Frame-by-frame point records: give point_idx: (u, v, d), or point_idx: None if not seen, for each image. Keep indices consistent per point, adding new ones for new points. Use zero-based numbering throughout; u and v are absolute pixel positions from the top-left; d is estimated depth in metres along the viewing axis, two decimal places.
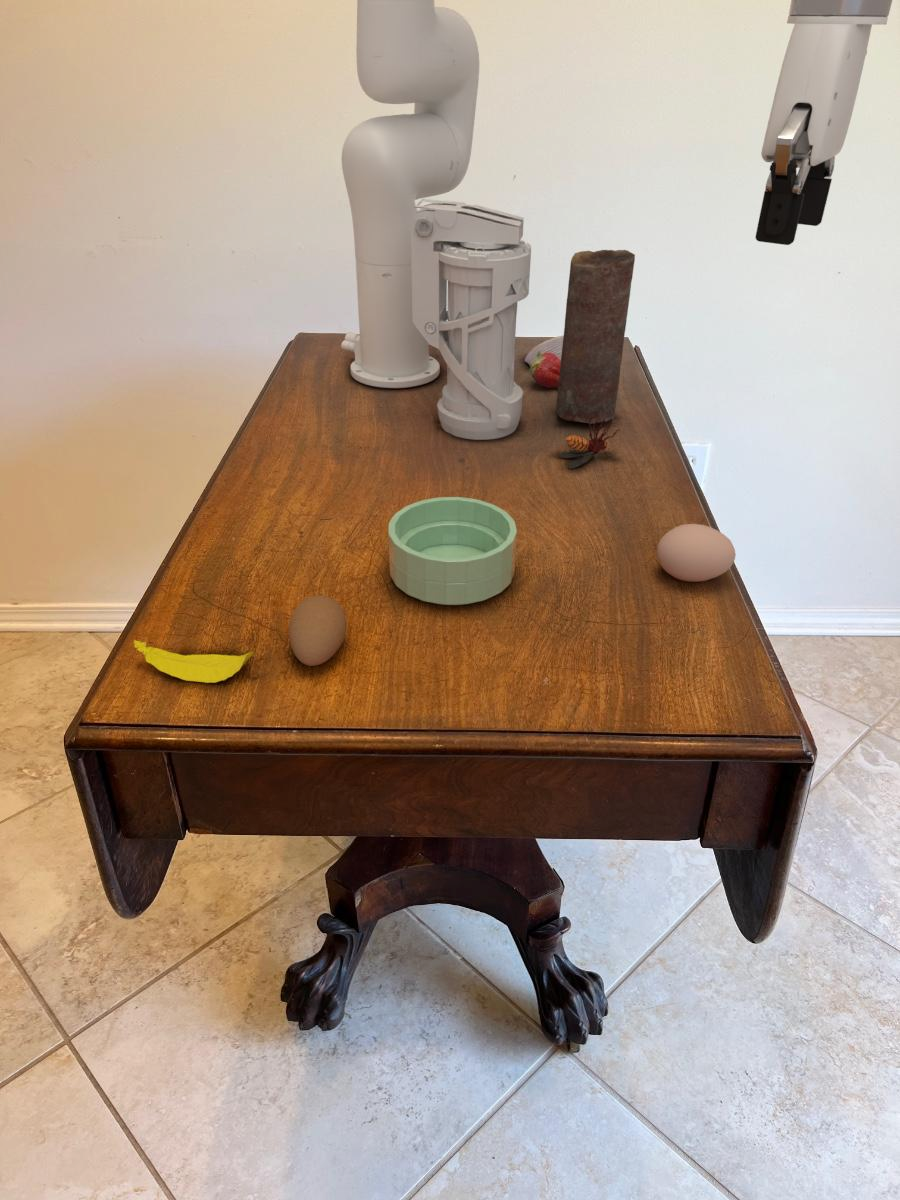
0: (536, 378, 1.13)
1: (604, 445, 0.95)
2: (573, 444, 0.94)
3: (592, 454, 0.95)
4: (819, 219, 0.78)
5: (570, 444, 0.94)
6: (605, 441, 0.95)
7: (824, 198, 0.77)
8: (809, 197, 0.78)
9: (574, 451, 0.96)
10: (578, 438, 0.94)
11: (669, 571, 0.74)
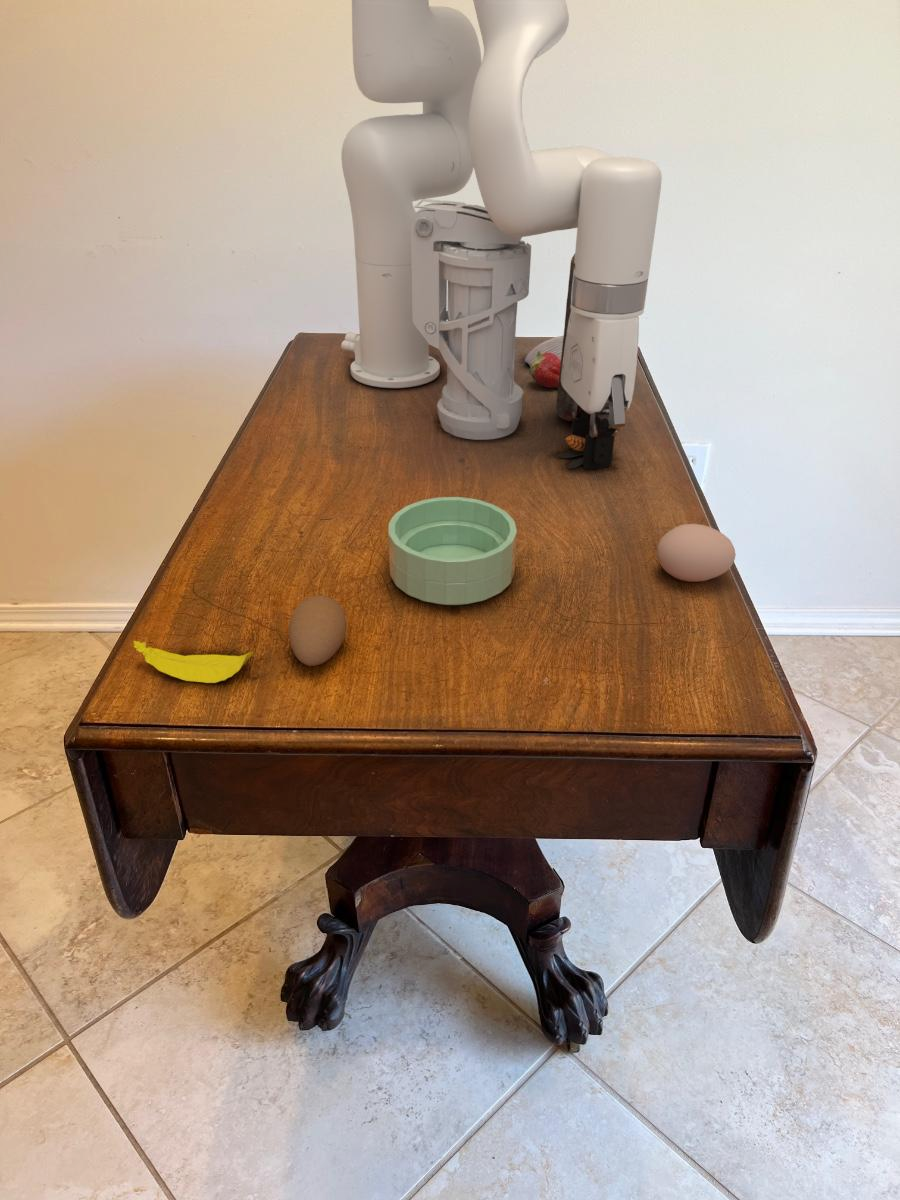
0: (536, 378, 1.13)
1: None
2: (573, 444, 0.94)
3: None
4: None
5: (570, 444, 0.94)
6: None
7: None
8: (588, 433, 0.96)
9: (574, 451, 0.96)
10: (578, 438, 0.94)
11: (669, 571, 0.74)
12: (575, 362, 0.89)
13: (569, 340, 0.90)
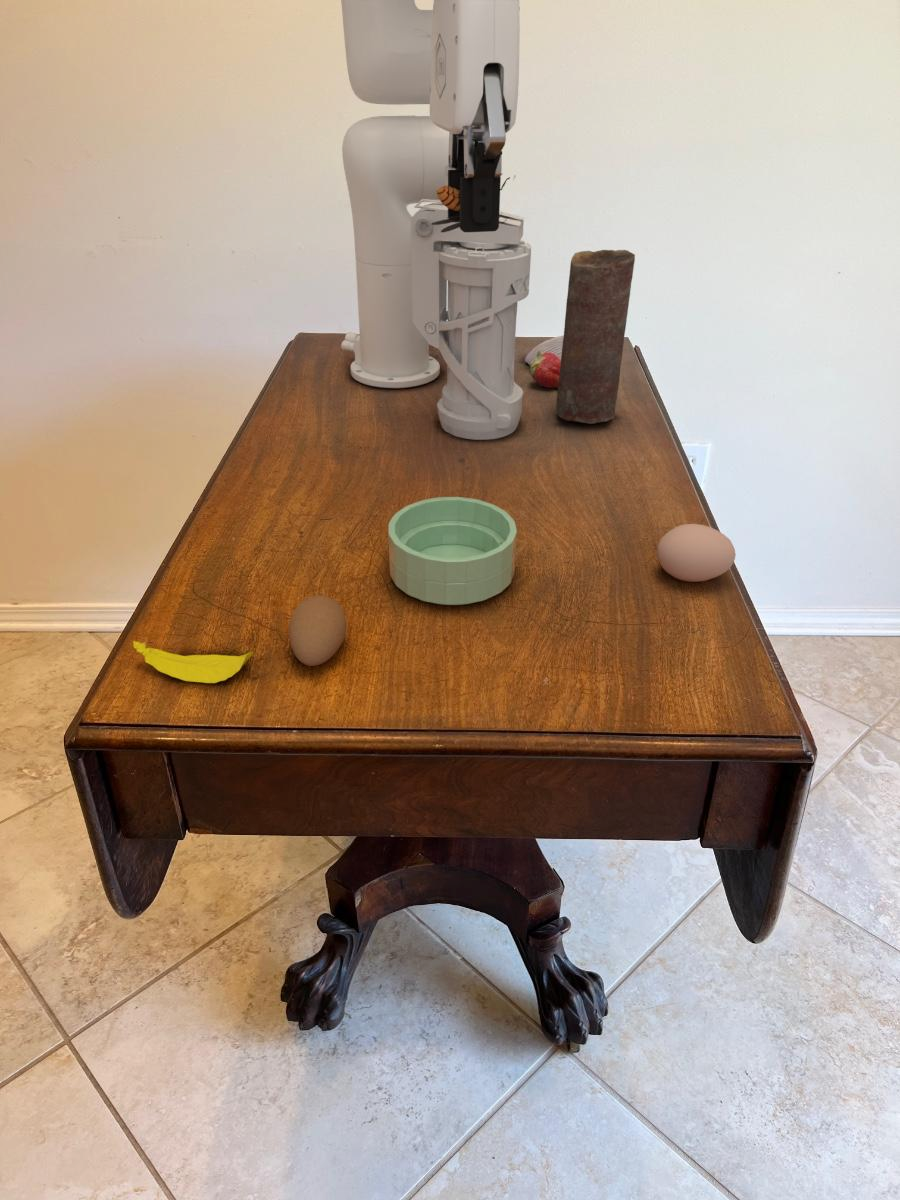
0: (536, 378, 1.13)
1: None
2: (446, 198, 0.68)
3: None
4: None
5: (442, 198, 0.68)
6: None
7: None
8: None
9: (453, 217, 0.71)
10: (453, 189, 0.68)
11: (669, 571, 0.74)
12: (439, 65, 0.63)
13: (433, 39, 0.65)
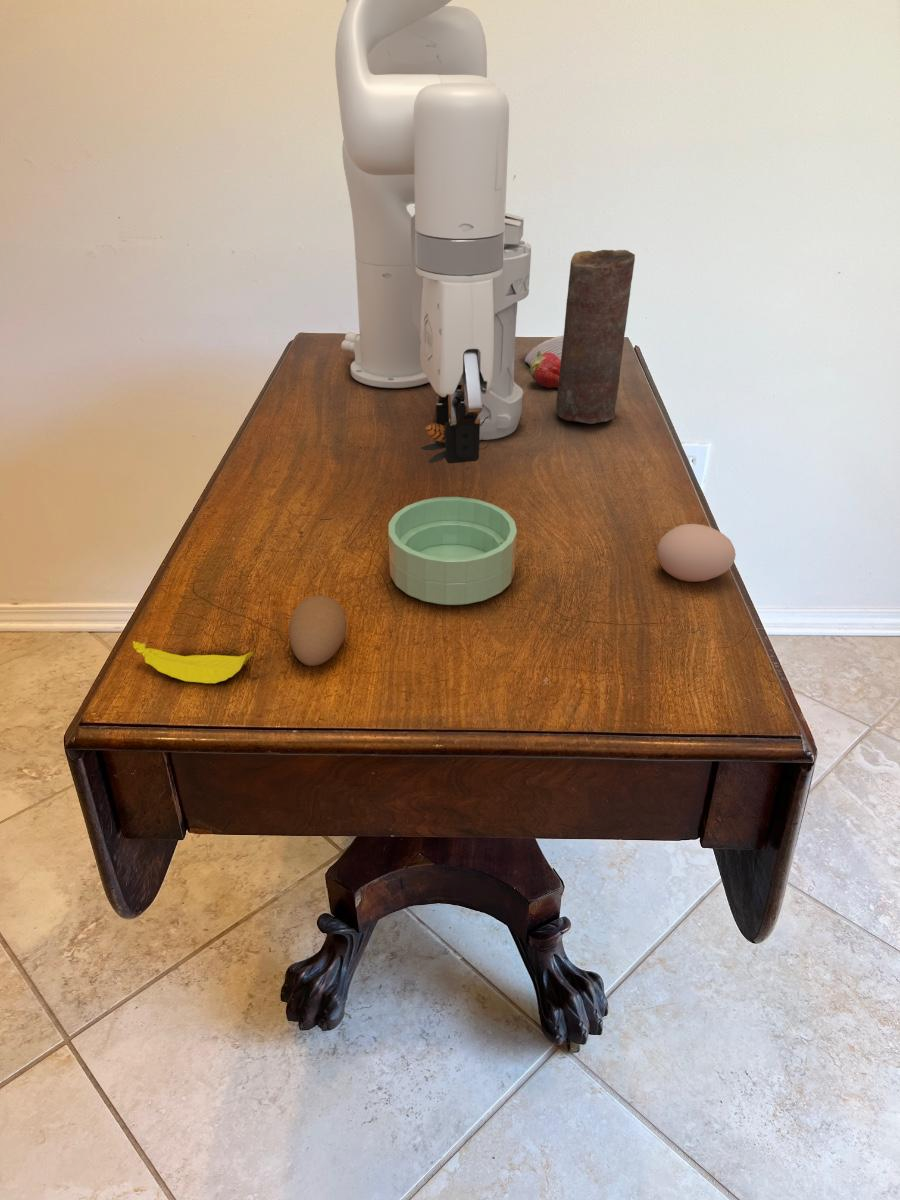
0: (536, 378, 1.13)
1: None
2: (434, 434, 0.79)
3: None
4: None
5: (430, 434, 0.79)
6: None
7: None
8: None
9: (440, 443, 0.82)
10: (440, 427, 0.79)
11: (669, 571, 0.74)
12: (427, 336, 0.75)
13: (422, 310, 0.76)
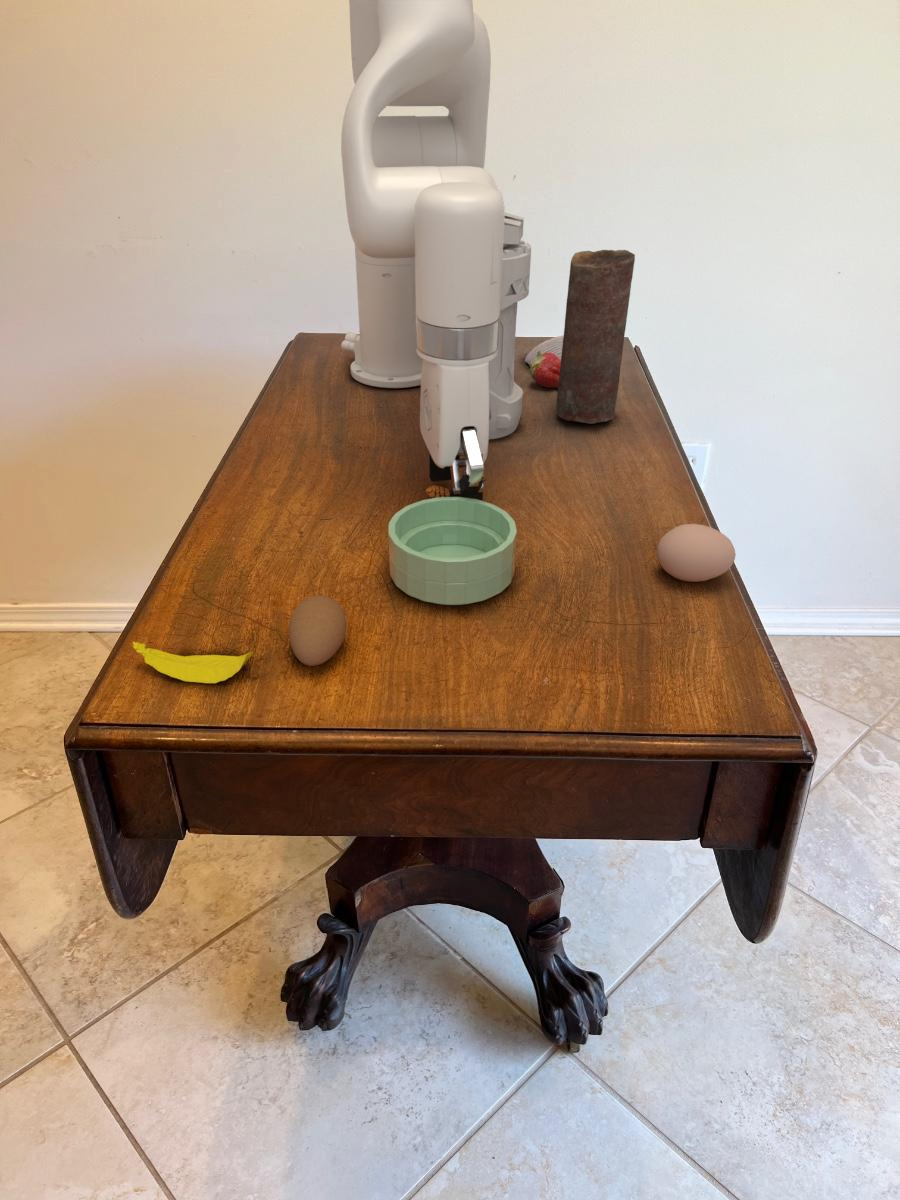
0: (536, 378, 1.13)
1: None
2: (434, 496, 0.83)
3: None
4: None
5: (431, 496, 0.83)
6: None
7: (458, 459, 0.88)
8: None
9: None
10: (439, 489, 0.83)
11: (669, 571, 0.74)
12: (426, 409, 0.79)
13: (422, 383, 0.80)
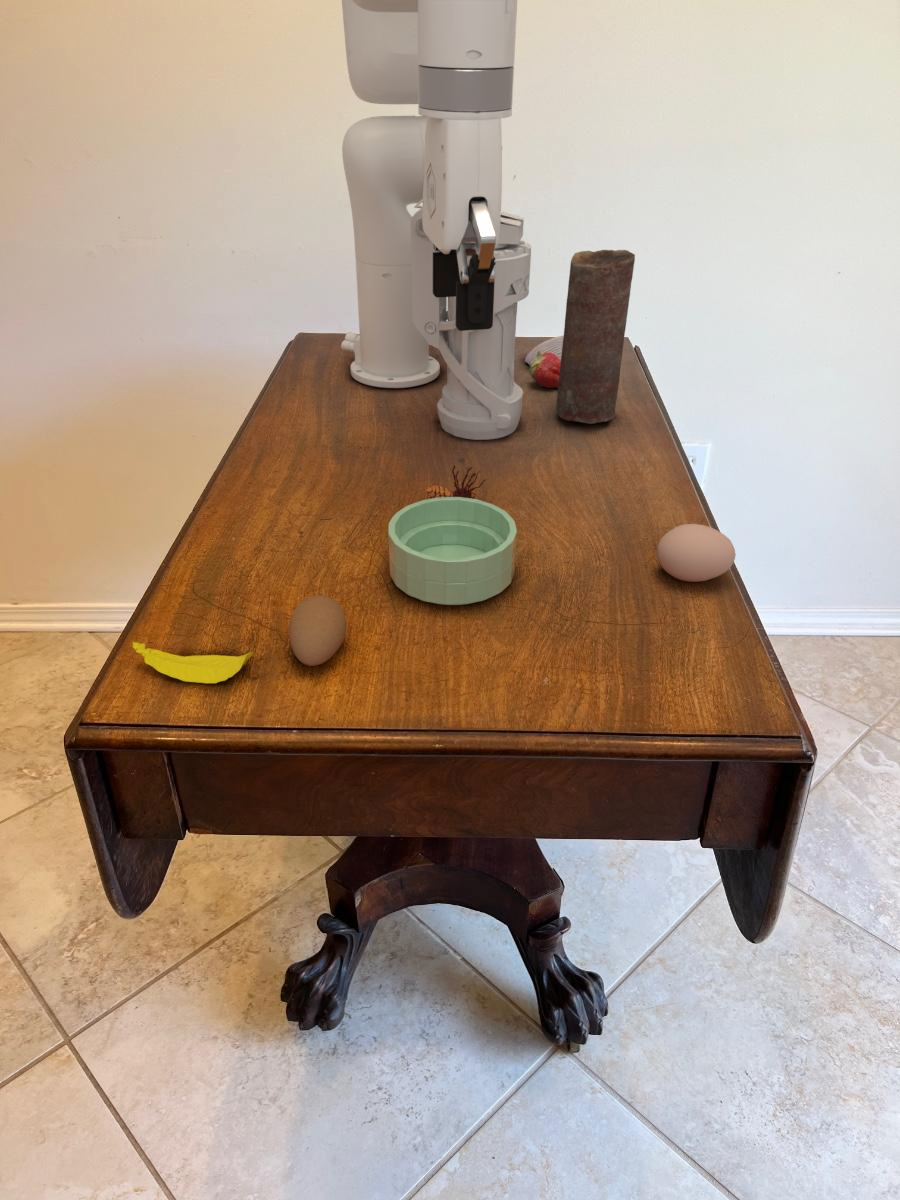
0: (536, 378, 1.13)
1: (471, 496, 0.85)
2: (434, 496, 0.83)
3: None
4: None
5: (431, 496, 0.83)
6: (472, 492, 0.85)
7: None
8: (452, 271, 0.78)
9: None
10: (439, 489, 0.83)
11: (669, 571, 0.74)
12: (430, 189, 0.70)
13: (425, 163, 0.71)
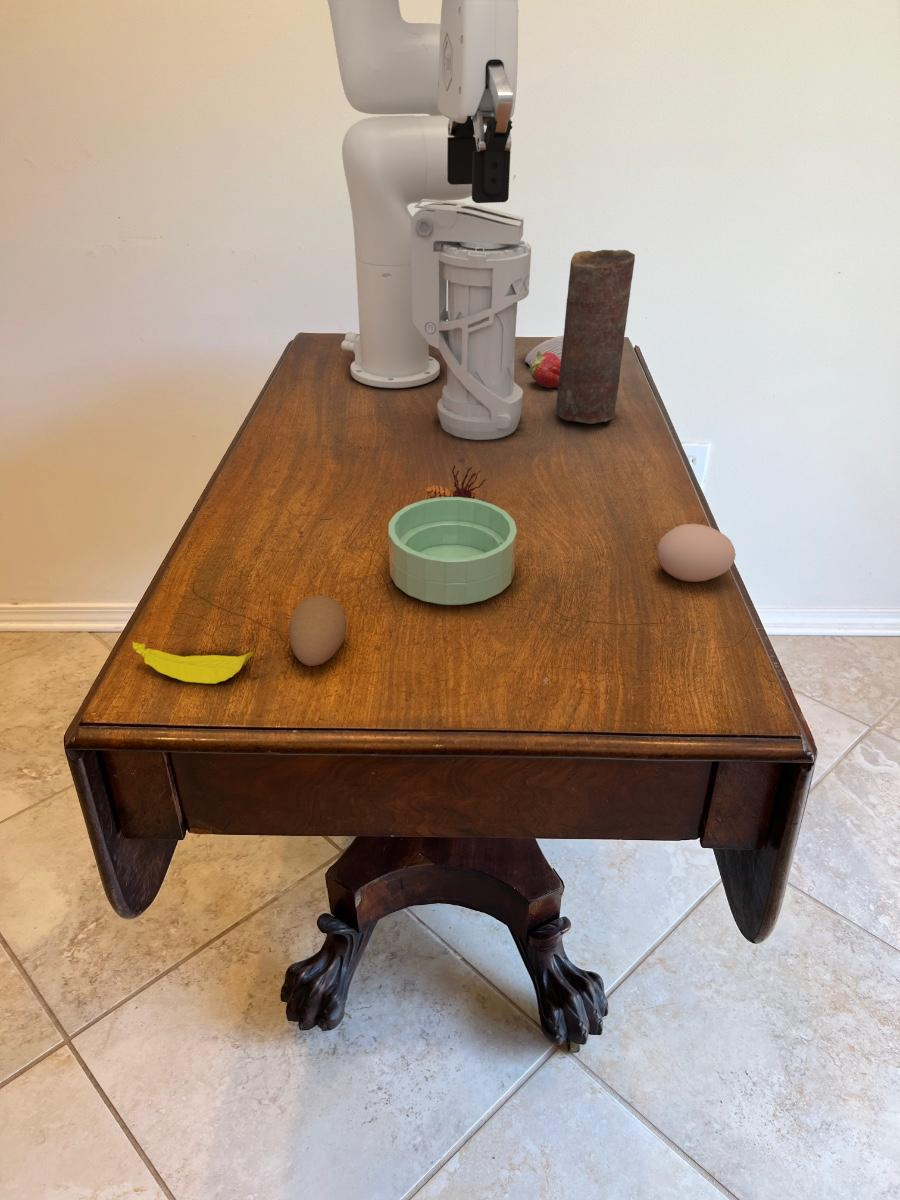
0: (536, 378, 1.13)
1: (471, 496, 0.85)
2: (434, 496, 0.83)
3: None
4: None
5: (431, 496, 0.83)
6: (472, 492, 0.85)
7: None
8: (467, 157, 0.79)
9: None
10: (439, 489, 0.83)
11: (669, 571, 0.74)
12: (446, 61, 0.71)
13: (441, 38, 0.72)
